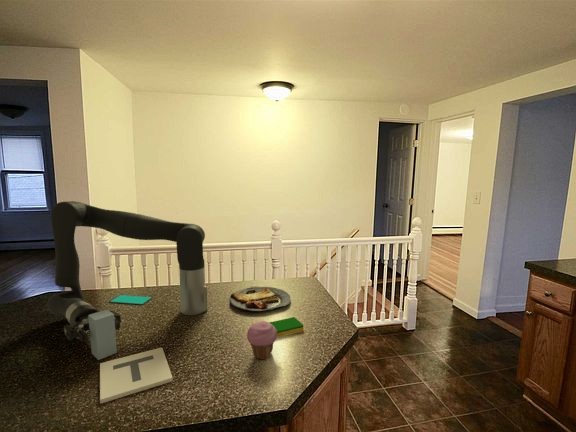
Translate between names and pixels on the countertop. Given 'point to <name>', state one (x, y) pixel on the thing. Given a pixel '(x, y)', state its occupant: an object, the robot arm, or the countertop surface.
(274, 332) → the cupcake
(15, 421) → the countertop surface
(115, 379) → the board
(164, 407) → the countertop surface
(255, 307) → the food plate
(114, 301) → the smartphone
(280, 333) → the dish sponge
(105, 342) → the grey rectangular block
